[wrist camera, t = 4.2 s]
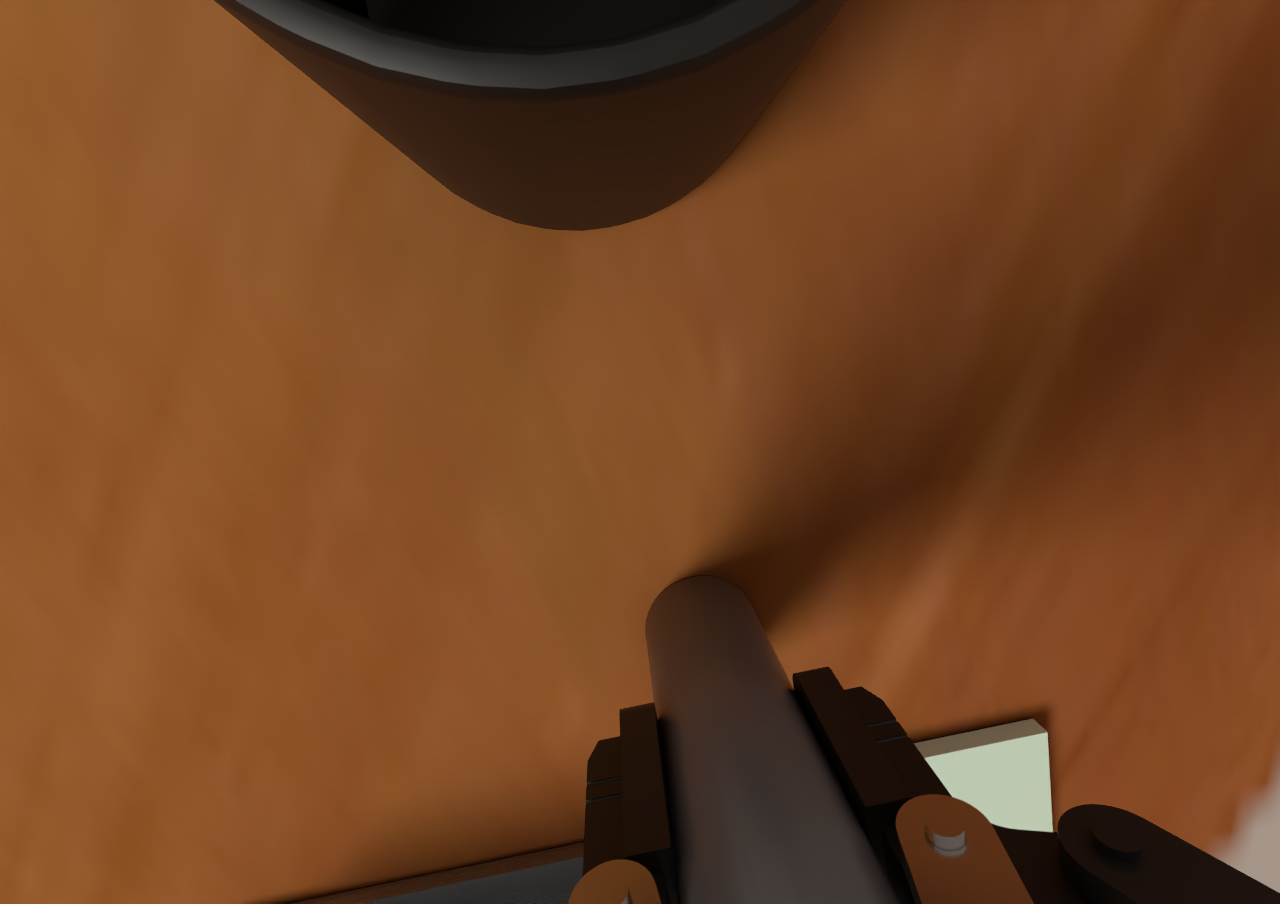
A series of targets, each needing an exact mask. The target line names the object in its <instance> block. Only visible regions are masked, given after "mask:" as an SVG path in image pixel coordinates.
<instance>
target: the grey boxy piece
mask: <svg viewBox="0 0 1280 904" xmlns="http://www.w3.org/2000/svg"><path fill="white" fill-rule="evenodd" d="M583 857H584V842H581V843H577V844H572V845H567V846H562V847H557V848H553V849H548V850H543V851H538V852H534V853H529V854H524V855H519V856H514V857H510V858H505V859H500V860H495V861H491V862H486V863H481V864H476V865H471V866H467V867H462V868H457V869H452V870H448V871H443V872H438V873H433V874H428V875H424V876H419V877H414V878H409V879H405V880H400V881H395V882H390V883H385V884H381V885H376V886H371V887H366V888H362V889H357V890H352V891H347V892H342V893H338V894H333V895H328V896H323V897H318V898H314V899H309V900H304V901H299V902H295V903H290V904H568V902H569V899H570V896H571V893H572V892H573V890H574V888H575V886H576V885H577V883H578V882H579V880H580V879H581V878H582V875H583Z"/></svg>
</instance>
